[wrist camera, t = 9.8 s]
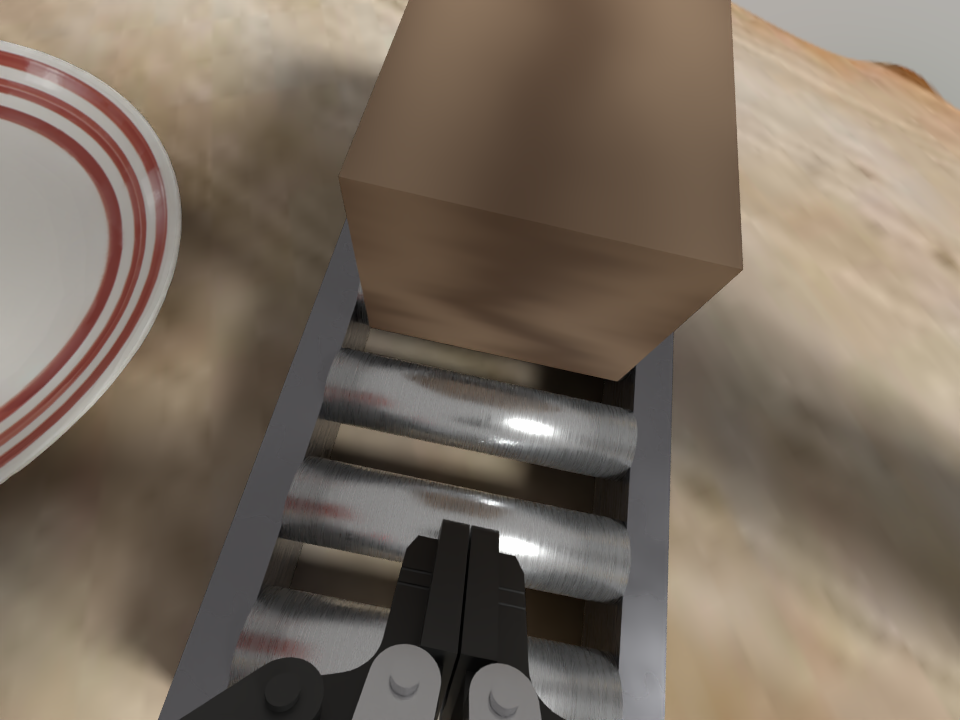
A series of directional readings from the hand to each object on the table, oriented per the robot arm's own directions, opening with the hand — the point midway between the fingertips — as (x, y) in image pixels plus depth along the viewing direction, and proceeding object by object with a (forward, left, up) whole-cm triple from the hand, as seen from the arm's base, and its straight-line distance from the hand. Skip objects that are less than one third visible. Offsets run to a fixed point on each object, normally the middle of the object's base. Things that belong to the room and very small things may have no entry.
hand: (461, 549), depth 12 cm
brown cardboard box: (0, -14, -4) cm, 15 cm away
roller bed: (0, -8, -8) cm, 12 cm away
